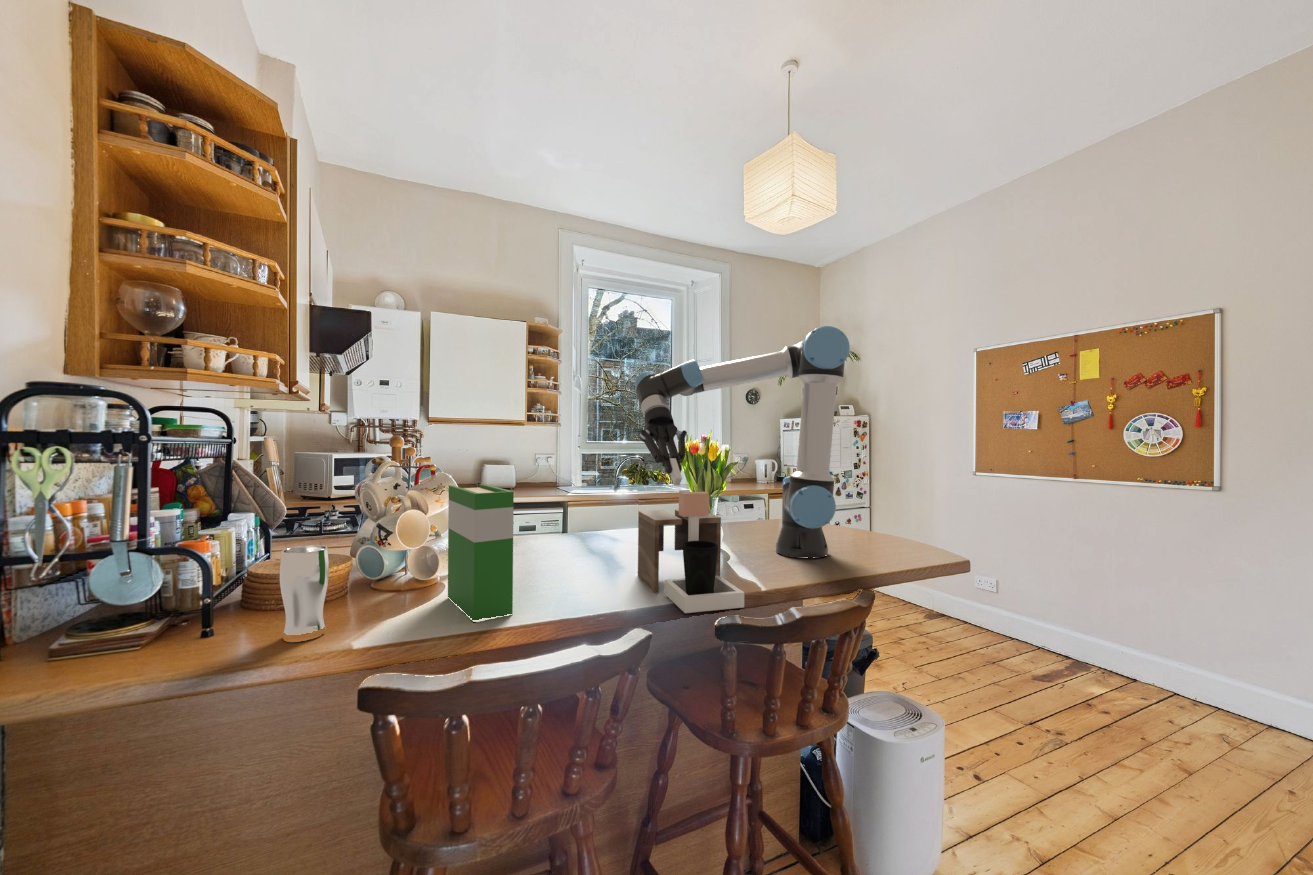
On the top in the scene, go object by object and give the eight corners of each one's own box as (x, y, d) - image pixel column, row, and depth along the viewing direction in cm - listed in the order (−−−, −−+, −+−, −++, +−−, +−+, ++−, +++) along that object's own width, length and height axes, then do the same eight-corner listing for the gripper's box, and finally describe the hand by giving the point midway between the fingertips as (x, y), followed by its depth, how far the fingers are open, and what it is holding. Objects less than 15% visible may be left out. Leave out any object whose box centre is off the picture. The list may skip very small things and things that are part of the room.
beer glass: (276, 635, 88) (276, 548, 88) (323, 625, 93) (324, 542, 92) (283, 647, 83) (283, 555, 83) (333, 636, 88) (333, 549, 87)
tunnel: (697, 571, 132) (698, 508, 132) (720, 587, 118) (720, 517, 118) (637, 575, 127) (638, 510, 127) (654, 592, 114) (654, 520, 113)
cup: (718, 607, 105) (719, 548, 104) (681, 605, 105) (682, 547, 105) (716, 595, 112) (717, 540, 112) (681, 594, 113) (682, 540, 113)
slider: (716, 587, 116) (717, 491, 116) (744, 607, 103) (745, 498, 103) (663, 592, 112) (664, 492, 112) (684, 613, 99) (686, 500, 99)
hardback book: (447, 598, 108) (448, 485, 108) (482, 592, 113) (483, 483, 113) (473, 623, 94) (474, 493, 94) (512, 615, 99) (513, 491, 99)
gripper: (676, 425, 144) (698, 490, 128) (631, 424, 140) (648, 492, 124) (683, 405, 139) (707, 471, 123) (637, 404, 135) (655, 472, 119)
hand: (677, 481), depth 124 cm, fingers closed
